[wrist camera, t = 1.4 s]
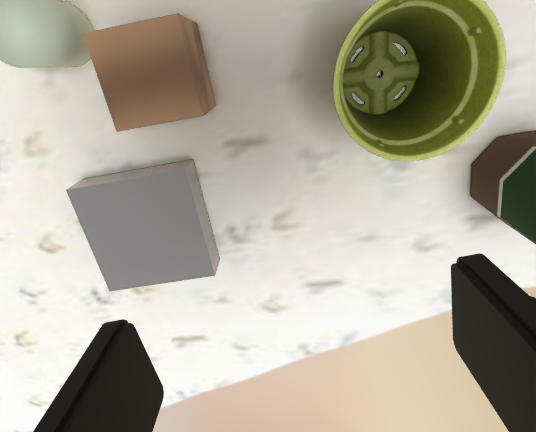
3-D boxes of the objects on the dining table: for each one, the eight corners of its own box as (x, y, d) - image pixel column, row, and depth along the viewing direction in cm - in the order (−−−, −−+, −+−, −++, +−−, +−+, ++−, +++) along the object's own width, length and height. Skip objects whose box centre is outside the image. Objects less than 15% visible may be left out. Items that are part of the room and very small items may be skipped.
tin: (26, 8, 26) (-39, -6, 21) (82, -4, 26) (31, -22, 20) (51, 71, 28) (-3, 74, 22) (104, 60, 28) (62, 60, 22)
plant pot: (380, 157, 30) (418, 190, 22) (293, 89, 28) (300, 99, 20) (463, 60, 27) (542, 59, 19) (372, -24, 25) (418, -64, 17)
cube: (121, 39, 27) (82, 33, 22) (197, 23, 27) (177, 13, 21) (145, 118, 29) (116, 131, 24) (216, 105, 29) (203, 115, 23)
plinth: (84, 178, 31) (66, 189, 29) (192, 159, 31) (185, 169, 28) (122, 273, 35) (109, 291, 33) (219, 258, 34) (215, 275, 32)
